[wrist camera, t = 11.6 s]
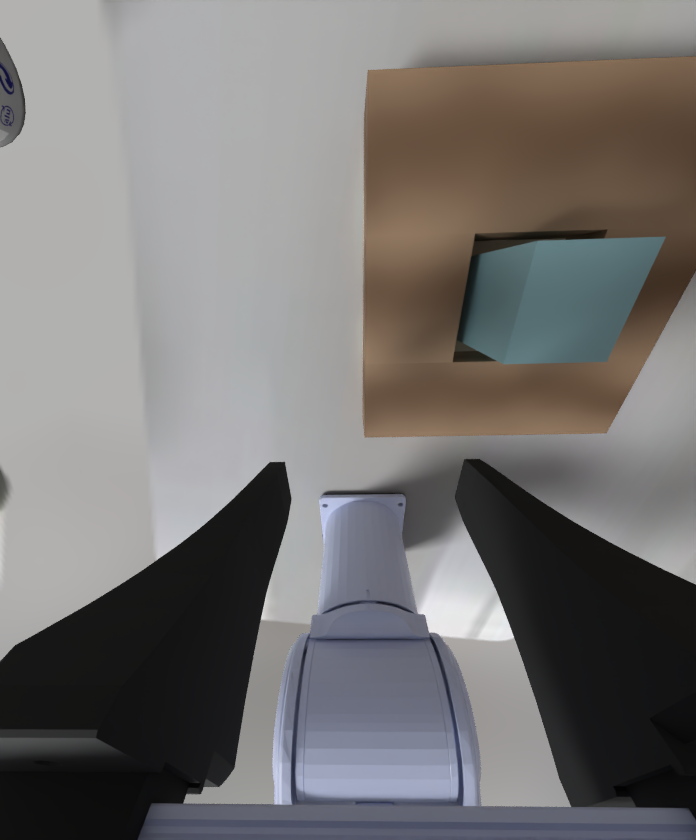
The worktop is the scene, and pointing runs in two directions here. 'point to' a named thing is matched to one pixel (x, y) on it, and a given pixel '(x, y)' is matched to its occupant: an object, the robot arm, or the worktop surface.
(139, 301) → the worktop surface
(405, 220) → the socket block
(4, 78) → the energy drink
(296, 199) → the worktop surface
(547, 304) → the peg
